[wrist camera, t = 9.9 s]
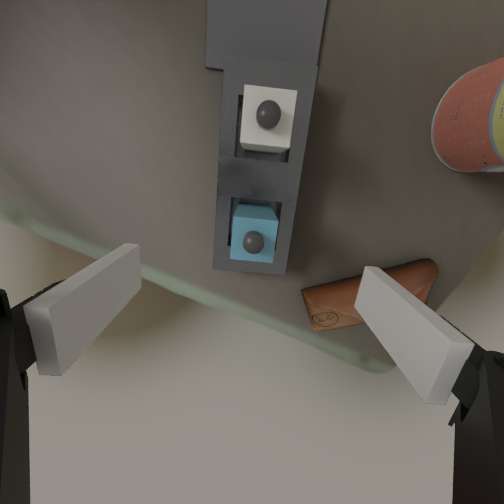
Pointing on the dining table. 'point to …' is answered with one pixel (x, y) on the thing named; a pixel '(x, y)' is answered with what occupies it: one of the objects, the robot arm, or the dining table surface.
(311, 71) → the strip
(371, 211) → the dining table surface
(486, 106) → the canned food
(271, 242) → the plug
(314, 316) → the sunglasses case
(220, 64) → the mat
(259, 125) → the white knobbed block
